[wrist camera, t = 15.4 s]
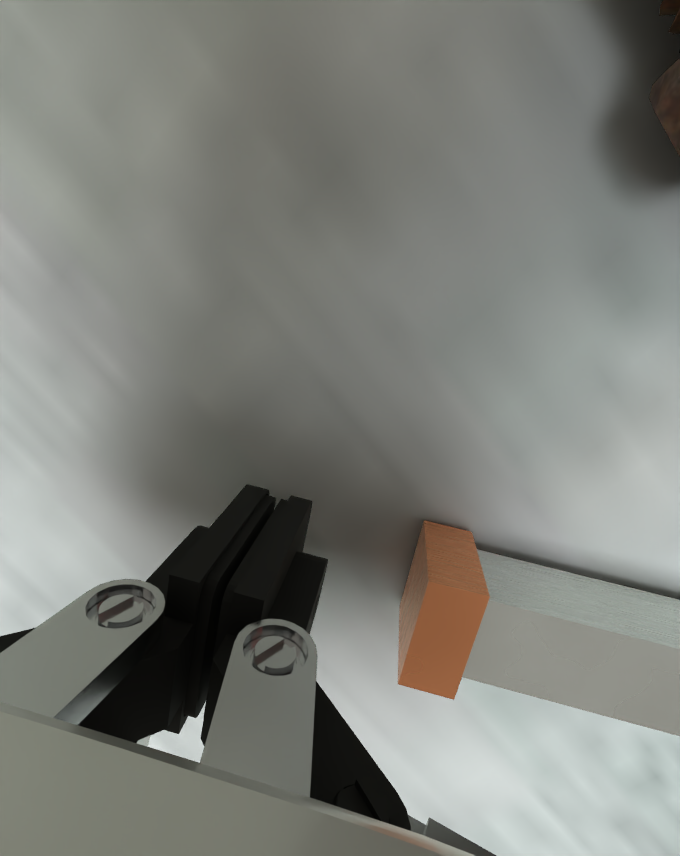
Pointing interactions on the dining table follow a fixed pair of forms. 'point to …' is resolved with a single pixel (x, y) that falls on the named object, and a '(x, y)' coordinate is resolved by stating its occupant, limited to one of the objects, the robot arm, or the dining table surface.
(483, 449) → the dining table surface
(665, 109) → the bolt
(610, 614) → the pin
